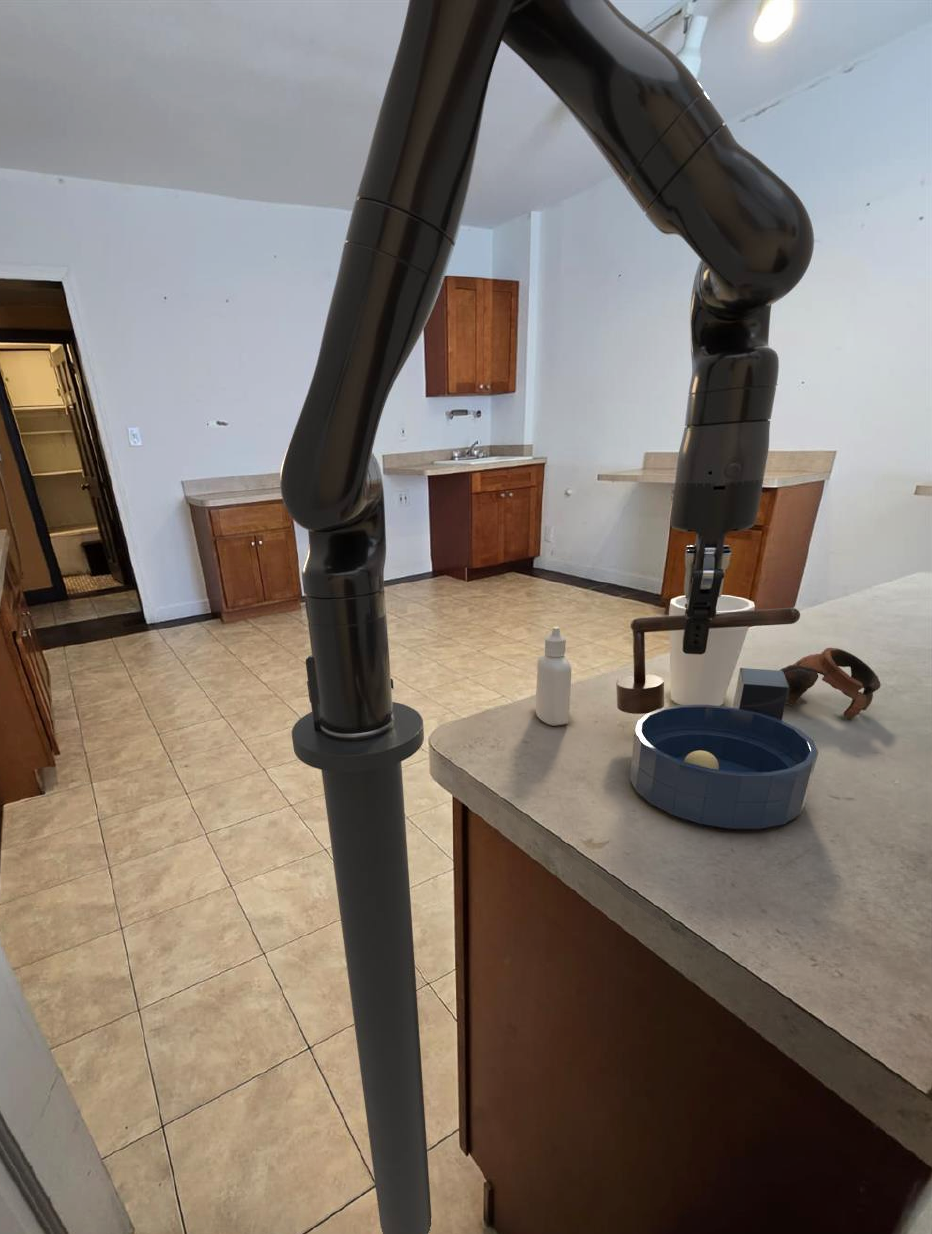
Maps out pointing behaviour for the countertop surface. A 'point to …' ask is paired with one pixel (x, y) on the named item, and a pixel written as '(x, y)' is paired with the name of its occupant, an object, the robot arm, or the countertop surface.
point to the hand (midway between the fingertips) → (693, 649)
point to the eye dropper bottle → (553, 681)
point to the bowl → (723, 766)
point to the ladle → (648, 689)
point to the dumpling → (702, 759)
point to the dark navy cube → (762, 692)
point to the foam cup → (706, 657)
